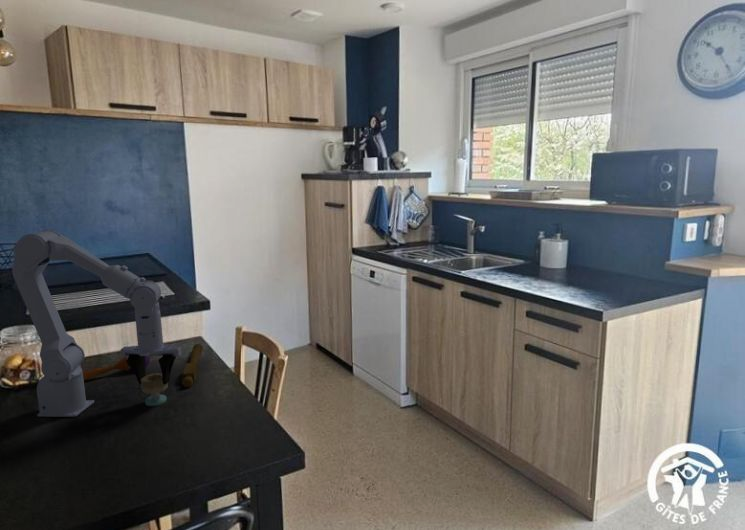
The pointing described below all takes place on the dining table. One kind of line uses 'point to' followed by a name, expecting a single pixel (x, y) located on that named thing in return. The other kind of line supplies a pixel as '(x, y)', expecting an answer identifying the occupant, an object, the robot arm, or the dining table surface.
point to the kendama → (110, 368)
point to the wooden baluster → (192, 366)
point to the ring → (153, 383)
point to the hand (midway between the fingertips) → (154, 382)
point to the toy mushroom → (155, 399)
